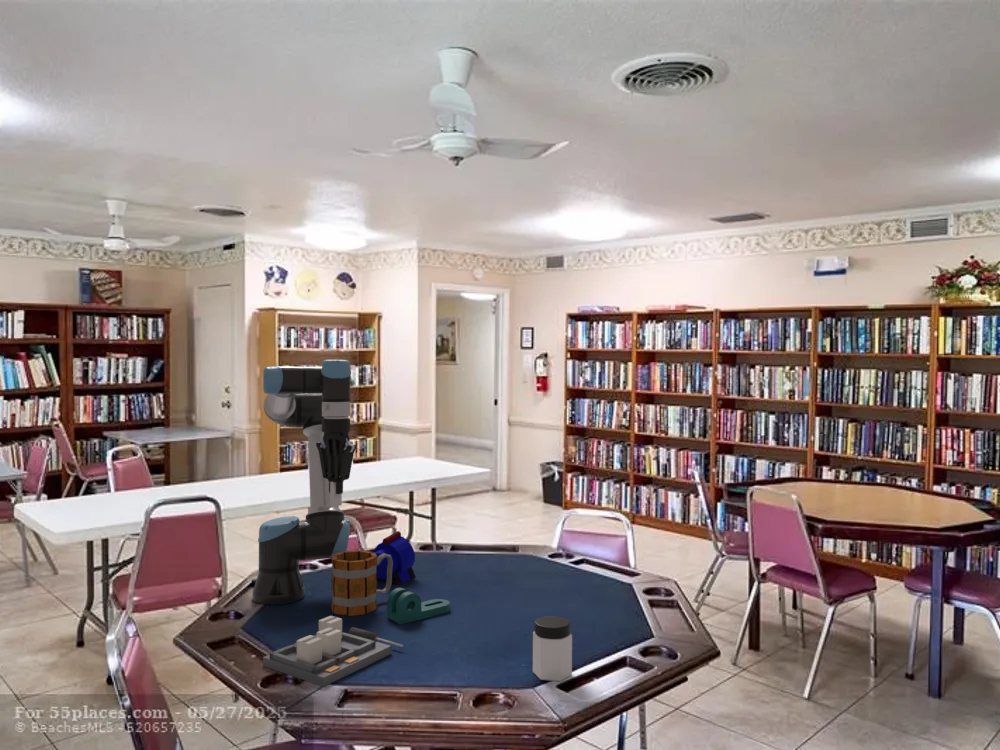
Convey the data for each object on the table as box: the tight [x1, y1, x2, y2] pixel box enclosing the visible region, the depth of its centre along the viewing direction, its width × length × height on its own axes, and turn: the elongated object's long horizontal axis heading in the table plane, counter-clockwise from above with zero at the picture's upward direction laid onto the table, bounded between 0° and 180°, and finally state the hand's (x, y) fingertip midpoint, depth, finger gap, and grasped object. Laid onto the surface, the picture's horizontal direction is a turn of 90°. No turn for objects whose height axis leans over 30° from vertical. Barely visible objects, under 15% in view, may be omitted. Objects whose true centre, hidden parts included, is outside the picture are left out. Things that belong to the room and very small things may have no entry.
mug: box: [330, 549, 393, 617], centre depth 216 cm, size 20×14×15 cm
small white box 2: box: [318, 615, 343, 639], centre depth 184 cm, size 4×4×5 cm
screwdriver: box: [348, 626, 404, 648], centre depth 188 cm, size 17×2×2 cm, turn 57°
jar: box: [532, 615, 573, 682], centre depth 170 cm, size 9×8×12 cm
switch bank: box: [262, 631, 392, 688], centre depth 177 cm, size 20×22×3 cm
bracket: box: [386, 587, 451, 625], centre depth 210 cm, size 18×7×8 cm, turn 130°
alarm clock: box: [373, 530, 417, 586], centre depth 243 cm, size 12×12×15 cm
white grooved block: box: [316, 627, 341, 656], centre depth 176 cm, size 4×4×5 cm
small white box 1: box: [296, 634, 322, 664], centre depth 171 cm, size 4×4×5 cm
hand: (335, 505), depth 199 cm, fingers closed
